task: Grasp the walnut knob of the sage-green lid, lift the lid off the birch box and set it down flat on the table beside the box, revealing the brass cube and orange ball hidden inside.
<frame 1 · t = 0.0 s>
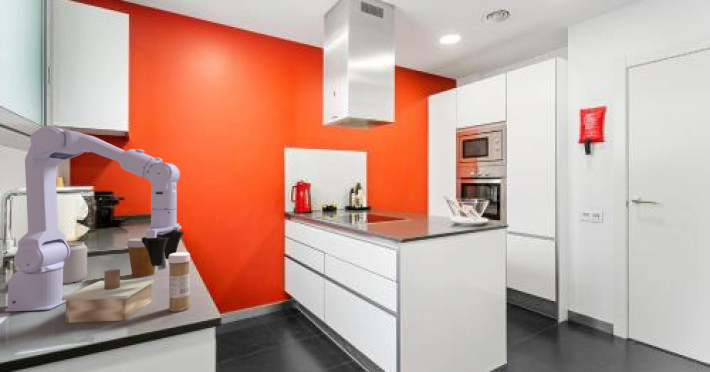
hand: (163, 262, 87), 10 cm above the worktop, fingers open, 7 cm apart
disposable coffee cup: (143, 275, 112), on the worktop
can: (71, 282, 104), on the worktop
lid: (112, 290, 79), point 5 cm above the worktop, touching box
box: (112, 311, 79), on the worktop
brass cube: (95, 315, 77), resting in box
orange ball: (129, 307, 82), resting in box
sprinkles bottle: (179, 309, 81), on the worktop
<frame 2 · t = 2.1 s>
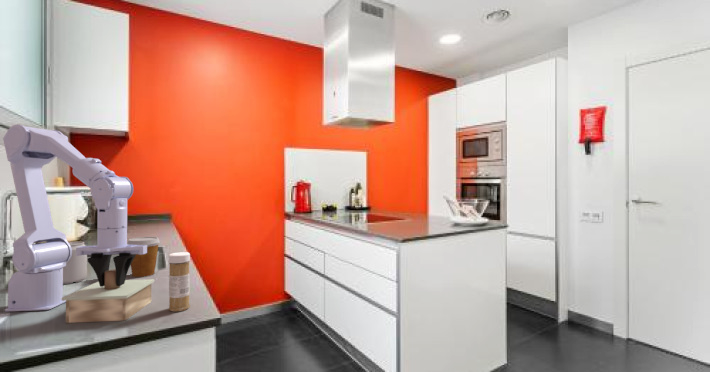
hand: (112, 285, 79), 6 cm above the worktop, fingers closed on lid, 3 cm apart
lid: (112, 290, 79), point 5 cm above the worktop, touching box, gripper
everything else where it was.
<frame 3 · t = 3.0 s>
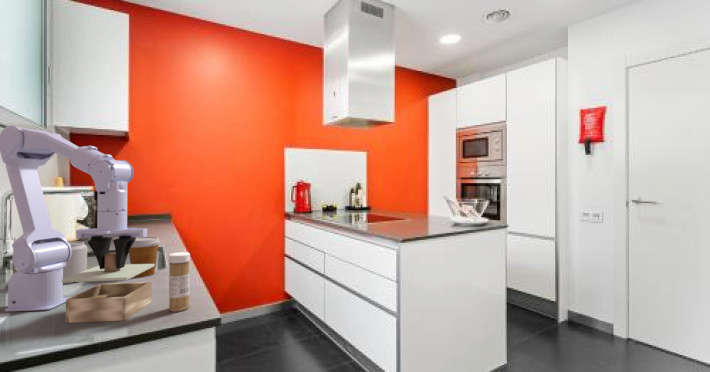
hand: (112, 268, 79), 10 cm above the worktop, fingers closed on lid, 3 cm apart
lid: (112, 273, 79), point 9 cm above the worktop, touching gripper
everything else where it was.
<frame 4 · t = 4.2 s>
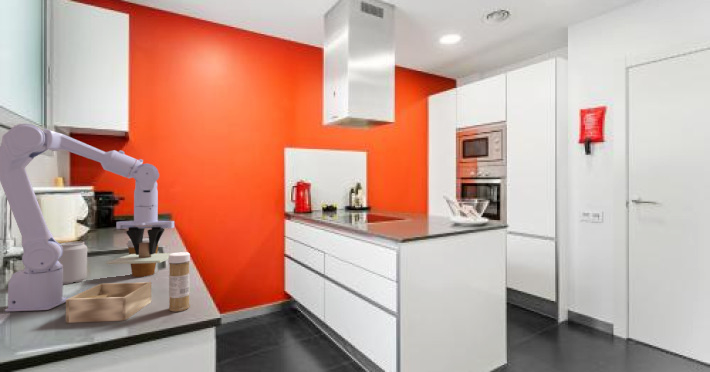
hand: (145, 254, 95), 10 cm above the worktop, fingers closed on lid, 3 cm apart
lid: (144, 259, 95), point 9 cm above the worktop, touching gripper
everything else where it was.
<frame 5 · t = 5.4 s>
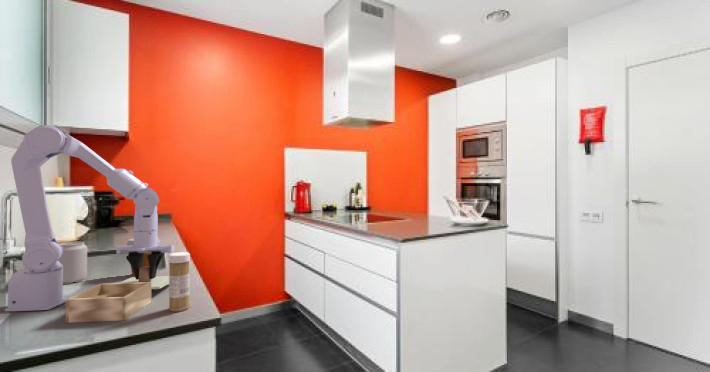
hand: (145, 278, 95), 3 cm above the worktop, fingers closed on lid, 3 cm apart
lid: (144, 283, 95), point 2 cm above the worktop, touching gripper
everything else where it was.
when the fingers open (3 cm above the worktop, at t = 6.3 s): lid drops 2 cm, on the worktop.
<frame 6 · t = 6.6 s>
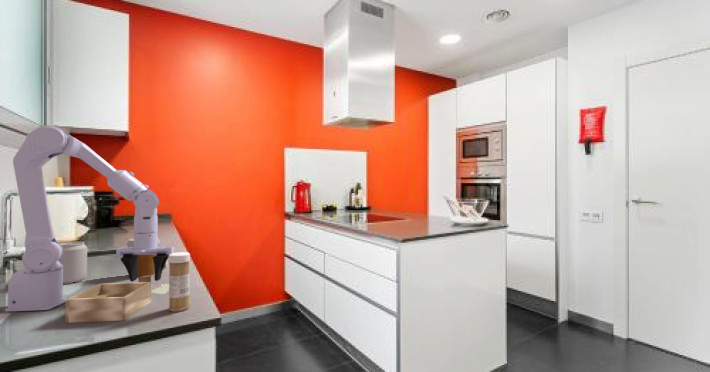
hand: (145, 280, 95), 3 cm above the worktop, fingers open, 6 cm apart
lid: (144, 293, 95), on the worktop
everything else where it was.
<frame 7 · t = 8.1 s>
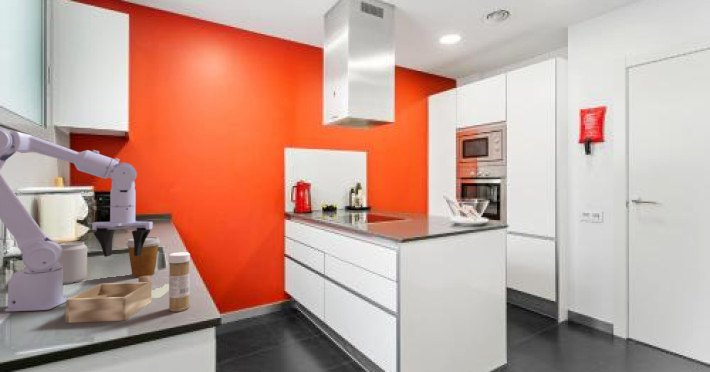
hand: (122, 255, 93), 10 cm above the worktop, fingers open, 7 cm apart
nothing on the worktop moved.
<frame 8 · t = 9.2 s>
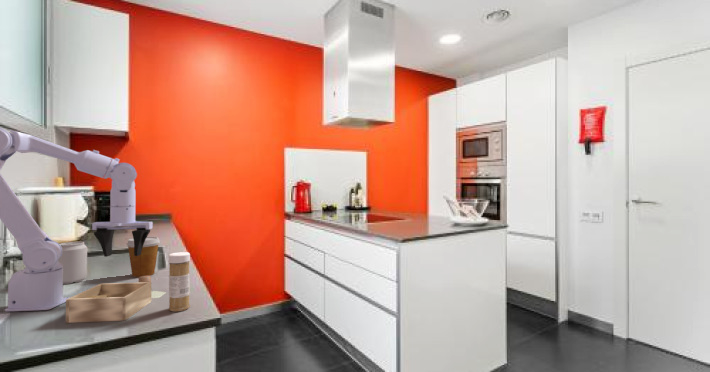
hand: (122, 255, 93), 10 cm above the worktop, fingers open, 7 cm apart
nothing on the worktop moved.
at the end: lid inside the target area on the worktop beside the box (0.5 cm from its centre), on the worktop; lid tilted 0°; the gripper is holding nothing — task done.
